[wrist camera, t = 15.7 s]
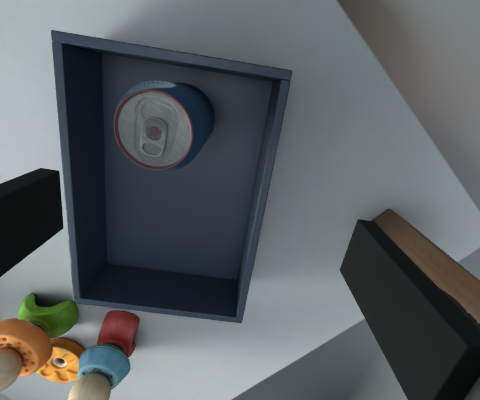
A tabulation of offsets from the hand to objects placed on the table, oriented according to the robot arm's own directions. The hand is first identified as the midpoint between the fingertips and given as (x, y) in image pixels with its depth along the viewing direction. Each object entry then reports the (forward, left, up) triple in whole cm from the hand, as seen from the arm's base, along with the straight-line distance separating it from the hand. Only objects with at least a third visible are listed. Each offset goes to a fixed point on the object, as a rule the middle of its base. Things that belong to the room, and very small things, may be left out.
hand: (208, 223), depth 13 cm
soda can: (-2, -5, -22) cm, 22 cm away
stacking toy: (+34, -18, -23) cm, 45 cm away
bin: (+6, -5, -22) cm, 24 cm away
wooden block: (+10, +24, -23) cm, 34 cm away
